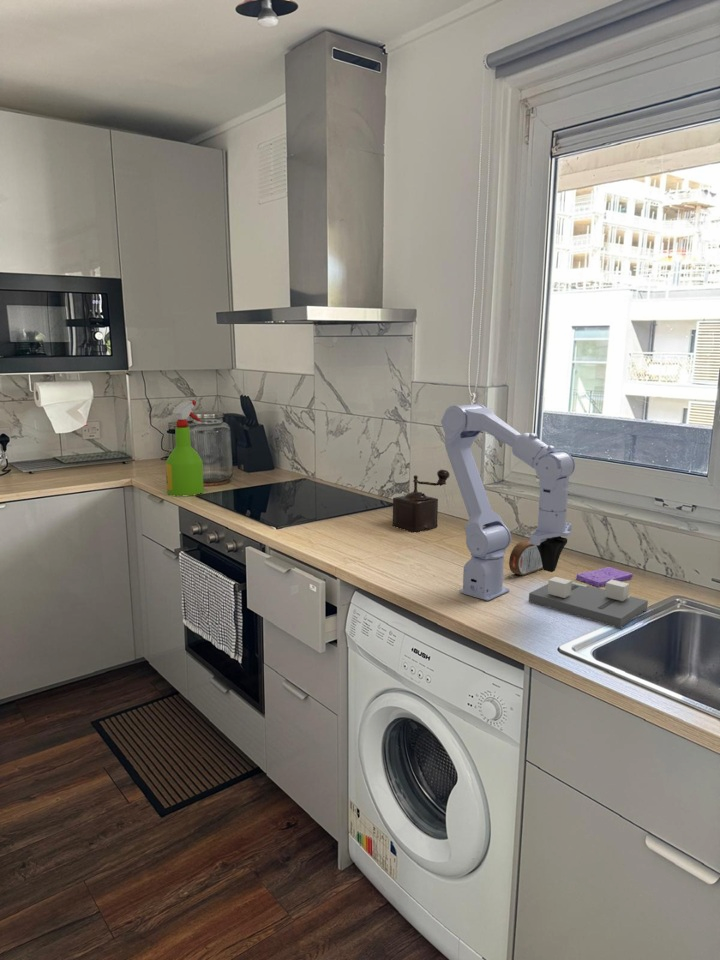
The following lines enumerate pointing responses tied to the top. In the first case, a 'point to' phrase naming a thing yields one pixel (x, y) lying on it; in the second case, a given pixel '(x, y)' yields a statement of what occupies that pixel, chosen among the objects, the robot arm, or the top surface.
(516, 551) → the tin
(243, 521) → the top surface
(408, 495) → the manual coffee grinder
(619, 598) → the block
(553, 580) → the off-white cube
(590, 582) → the sponges
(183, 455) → the spray bottle
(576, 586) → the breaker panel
